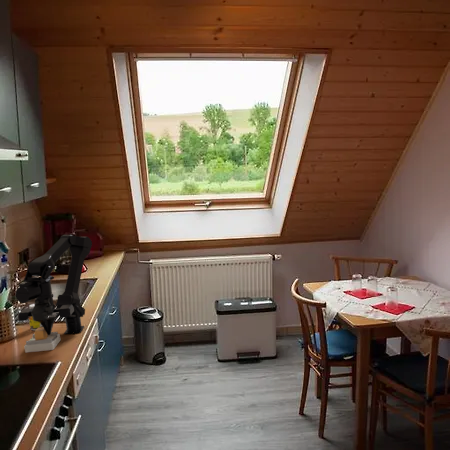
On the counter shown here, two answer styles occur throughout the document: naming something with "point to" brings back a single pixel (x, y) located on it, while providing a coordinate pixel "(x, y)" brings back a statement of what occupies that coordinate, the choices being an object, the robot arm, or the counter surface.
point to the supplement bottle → (33, 324)
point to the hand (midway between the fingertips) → (49, 334)
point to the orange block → (40, 333)
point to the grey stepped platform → (42, 343)
